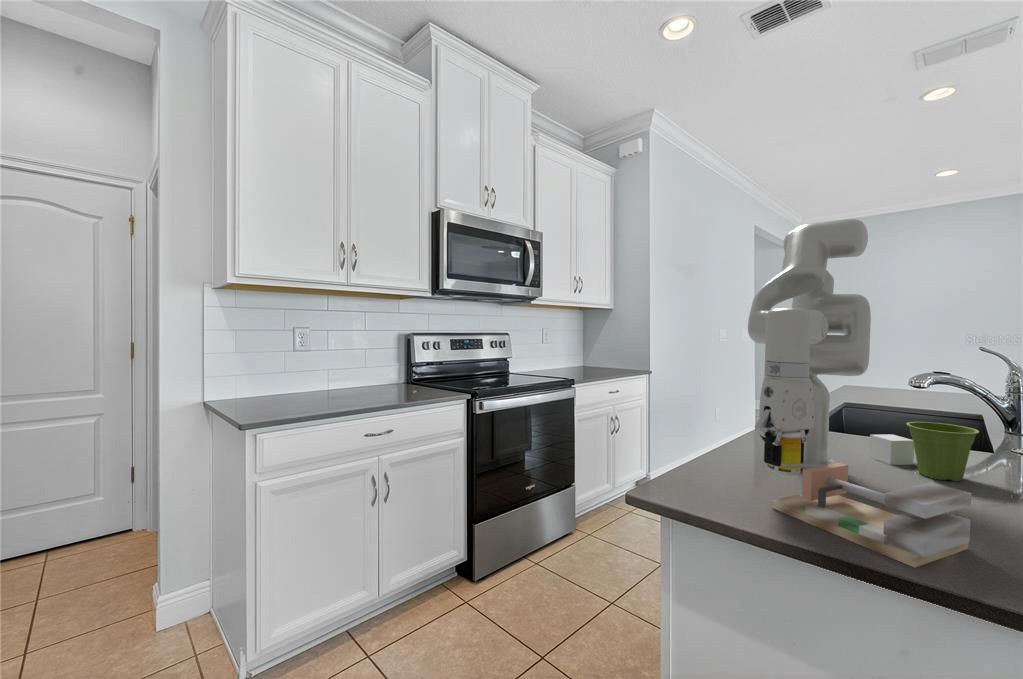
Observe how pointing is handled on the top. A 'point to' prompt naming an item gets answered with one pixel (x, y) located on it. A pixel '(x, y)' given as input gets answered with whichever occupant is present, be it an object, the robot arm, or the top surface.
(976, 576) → the top surface
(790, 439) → the supplement bottle
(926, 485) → the frame
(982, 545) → the top surface
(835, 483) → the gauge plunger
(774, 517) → the top surface
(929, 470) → the plant pot
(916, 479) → the top surface
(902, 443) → the white cube
